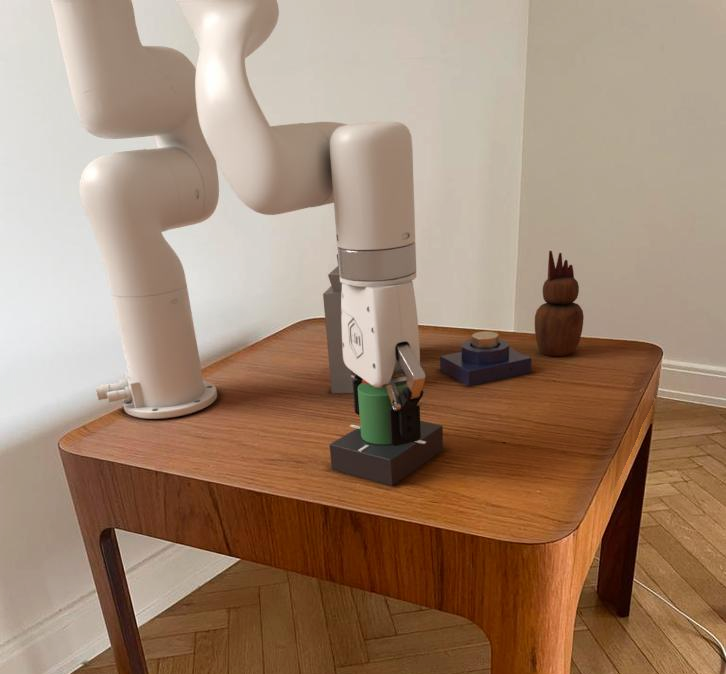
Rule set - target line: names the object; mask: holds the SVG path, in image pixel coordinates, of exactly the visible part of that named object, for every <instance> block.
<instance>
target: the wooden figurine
mask: <svg viewBox="0 0 726 674" xmlns="http://www.w3.org/2000/svg"><path fill="white" fill-rule="evenodd" d="M562 255H563V254H562V252H559V253H558V256H557V260H556V264H555V259H554V255H553V251H552V250H549V251H548V263H547V264H548V266H547V279H546V280H544V283H543V285H542V298H543V301H544V302H545V303H542V304H541V305H540V306H538V308H537V309H536V312H535V314H534V335H535V339H536V345H537V347H538V349H539V352H540V353H541V354H542V355H544V356H548V357H554V358H555V357H557V358H559V357H564V356H569V355H572V354H573V353H574V352H575V351H576V349H577V347H578V345H579V344H580V340H581V337H582V333H583V328H584V320H585V319H584V317H585V316H584V310H583V309H582V307H581V306H580V305H579V303H576V302H575V301H576V300H577V298H578V296H579V291H580V286H579V282H578V280H576V278H575V274H574V267H573V266H574V265H572V264H569V261H568V259H565V260H564V261H563V256H562Z"/></svg>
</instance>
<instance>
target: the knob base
mask: <svg viewBox="0 0 726 674" xmlns="http://www.w3.org/2000/svg"><path fill="white" fill-rule="evenodd" d="M443 427H444V426H443V425H442V424H438V423H432V422H428V421H423V420H420V429H421V438H420V440H418V441H415V442H411V443H406V444H402V445H398V446H394V445H392V444H388V445H379V444H372V443H369V442H366V441H365V440H363V439H362V437H361V429H360V425H356V424H350V425H349V428H353V430H352V431H349V432H348V433H346V434H344V435H343V436H341V437H340V438H338V439H336V440H335V441H333V442H331V443H329V454H330V464H331V470H332V471H335V472H340V473H343V474H347V475H351V476H353V477H359V478H362V479H365V480H369V481H372V482H375V483H380V484H383V485H386V486H391V487H393V486H395V485H396V484H397V483H399V482H400V481H402V480H403V479H405V478H406V477H407V476H409V475H410V474H412V473H413V472H415V471H416V470H417V469H419V468H420V467H421V466H423V465H424V464H426V463H427V462H428V461H429V460H431V459H432V458H434V457H435V456H437V455H438V454H440V453H441V452H442V451H444V431H443V430H444V429H443Z"/></svg>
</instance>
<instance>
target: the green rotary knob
mask: <svg viewBox="0 0 726 674" xmlns="http://www.w3.org/2000/svg"><path fill="white" fill-rule="evenodd" d="M391 378H394V376H392V377H391ZM406 387H407V384H405V385H400V386H396V389H397V392H398V395H400V393H401V392H402V390H403V388H406ZM358 401H359V415H358V416H359V426H360V429H361V437H362V439H363V440H365V441H366V442H369V443H372V444H379V445H388V444H391V442H390V427H389V408H392V404H391V401H390V398H389V395H388V392H387V389H386V386H385V384H384V385H383V386H382V387H380V388H376V387H374V386H372V385H371V384H369V383H368V382H366V381H365V380H362V383H361V384H360V385H359V386H358Z"/></svg>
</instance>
